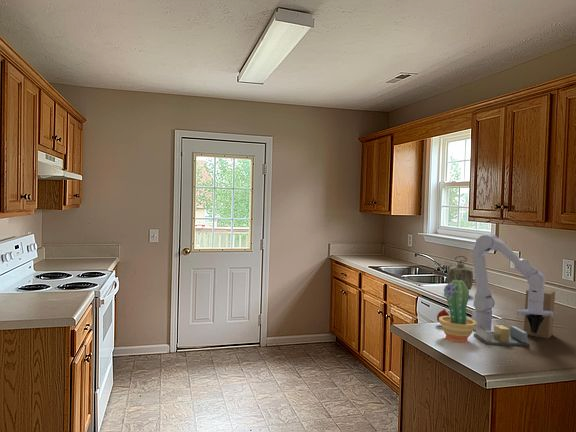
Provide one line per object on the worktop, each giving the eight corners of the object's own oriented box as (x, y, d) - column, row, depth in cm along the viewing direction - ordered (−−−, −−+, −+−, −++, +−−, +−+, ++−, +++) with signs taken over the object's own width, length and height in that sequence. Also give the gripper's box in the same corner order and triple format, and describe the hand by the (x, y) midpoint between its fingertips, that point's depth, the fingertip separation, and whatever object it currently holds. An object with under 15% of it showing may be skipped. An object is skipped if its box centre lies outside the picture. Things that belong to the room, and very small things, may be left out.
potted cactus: (434, 332, 201) (437, 276, 200) (470, 334, 199) (473, 278, 198) (441, 343, 186) (445, 282, 185) (481, 346, 184) (484, 284, 183)
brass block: (493, 336, 195) (494, 325, 195) (501, 336, 195) (502, 325, 195) (500, 340, 189) (501, 329, 189) (508, 341, 189) (509, 329, 189)
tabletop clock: (469, 294, 293) (471, 255, 292) (472, 297, 284) (475, 257, 283) (445, 292, 295) (448, 254, 294) (448, 295, 286) (451, 256, 285)
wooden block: (528, 330, 212) (530, 287, 211) (552, 334, 205) (555, 291, 205) (523, 334, 204) (525, 290, 203) (548, 339, 198) (551, 293, 197)
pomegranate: (434, 325, 213) (435, 308, 213) (440, 323, 217) (441, 306, 217) (446, 328, 209) (447, 310, 209) (451, 326, 213) (452, 309, 213)
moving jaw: (509, 335, 197) (510, 326, 197) (514, 335, 197) (515, 326, 197) (522, 342, 187) (522, 332, 187) (527, 342, 187) (527, 332, 187)
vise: (473, 335, 198) (474, 324, 198) (514, 337, 198) (514, 326, 198) (486, 344, 186) (486, 332, 186) (529, 346, 186) (530, 334, 186)
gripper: (524, 302, 188) (522, 334, 188) (558, 303, 188) (556, 335, 188) (515, 298, 195) (513, 329, 195) (548, 299, 195) (546, 330, 196)
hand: (533, 332), depth 192 cm, fingers closed
